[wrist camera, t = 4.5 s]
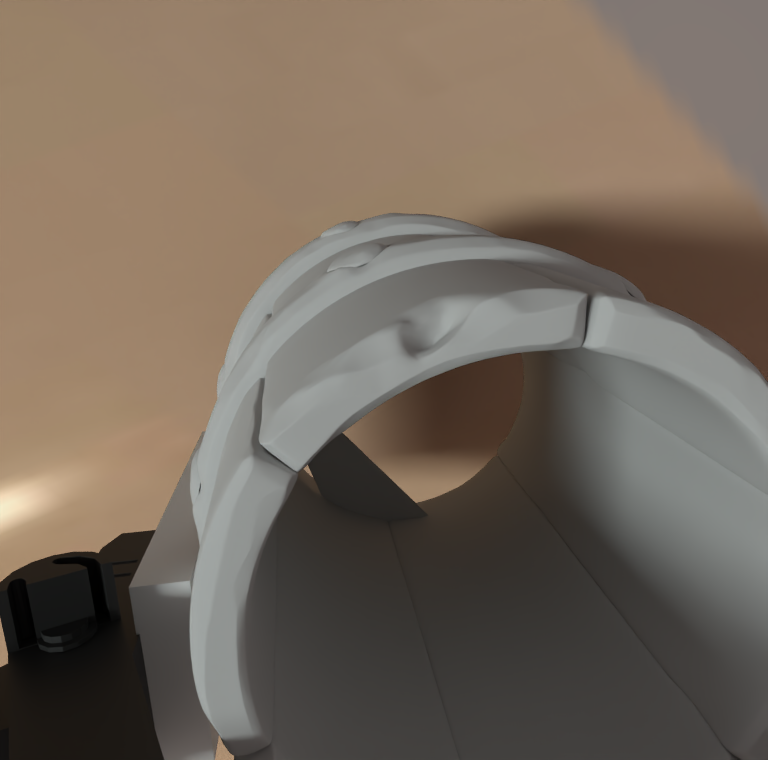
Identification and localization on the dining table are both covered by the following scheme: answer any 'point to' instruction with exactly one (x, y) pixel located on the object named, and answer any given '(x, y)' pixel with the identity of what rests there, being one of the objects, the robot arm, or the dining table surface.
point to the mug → (480, 518)
